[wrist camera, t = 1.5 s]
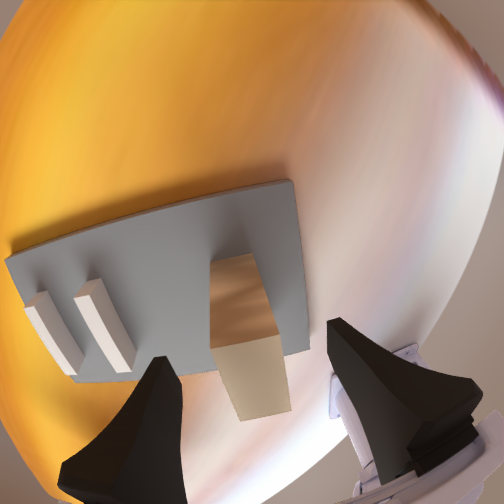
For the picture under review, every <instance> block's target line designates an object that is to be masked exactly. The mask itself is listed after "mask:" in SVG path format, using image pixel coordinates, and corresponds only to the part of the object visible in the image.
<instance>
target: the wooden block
mask: <svg viewBox="0 0 504 504" xmlns="http://www.w3.org/2000/svg"><path fill="white" fill-rule="evenodd" d="M210 351H211V353H212V356H213V358H214V361H215V363H216V366H217V368H218V371H219V373H220V376H221V378H222V381H223V383H224V385H225V388H226V390H227V392H228V395H229V397H230V399H231V402H232V404H233V406H234V409H235V411H236V413H237V415H238V418H239V420H240V421H246V420H251V419H257V418H262V417H266V416H271V415H275V414H280V413H284V412H288V411H292V410H291V403H290V397H289V390H288V383H287V377H286V370H285V364H284V357H283V351H282V344H281V338H280V333H279V330H278V327H277V324H276V321H275V318H274V315H273V313H272V310H271V307H270V304H269V301H268V298H267V295H266V292H265V289H264V286H263V283H262V280H261V277H260V274H259V271H258V268H257V265H256V262H255V259H254V256H253V253H250V254H245V255H240V256H236V257H231V258H227V259H222V260H217V261H213V262H210Z"/></svg>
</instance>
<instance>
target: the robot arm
mask: <svg viewBox="0 0 504 504" xmlns="http://www.w3.org/2000/svg"><path fill="white" fill-rule="evenodd" d="M417 350H418V345H417V344H413V345H410V346H408V347H406V348H404V349H401V350H399V351H397V352H394V353H391V352H389V351H387V350H386V349H384V348H382V347H381V346H379V345H378V344H376V343H375V342H373V341H372V340H370V339H369V338H367V337H366V336H364V335H363V334H362V333H360V332H359V331H357V330H356V329H355V328H353V327H352V326H351V325H349V324H348V323H347V322H346V321H344V320H343V319H342V318H340V317H339V318H335V319H332V320H329V321H327V354H328V356H329V359H330V361H331V364H332V366H333V369H334V371H335V373H336V374H335V375H333V376H332V378H331V393H330V410H329V417H330V419H335V418H338V417H341V418H342V420H343V423H344V425H345V427H346V430H347V432H348V434H349V437H350V439H351V441H352V444H353V446H354V448H355V451H356V453H357V455H358V458H359V460H360V463H361V465H362V467H363V470H362V471H360V472H358V473H357V474H358V476H359V478H360V480H359V481H358V482H357V483H356V485H355V487H354V491H353V496H352V498H350V499H347V500H344V501H341V502H339V503H335V504H475V503H476V502H477V500H478V498H479V497H480V495H481V493H482V491H483V489H484V484H483V483H484V480H485V479H486V478H488V476H490V475H491V474H492V473H493V472H494V471H495V470H496V469H497V468H498V467H499V466H500V465H501V464H502V463H503V462H504V418H503V417H502V416H501V414H500V413H499V412H498V410H496V409H495V410H494V411H493V412H492V413H490V414H489V415H488V416H487V417H486V418H484V419H483V420H482V421H481V422H480V423H478V425H476V427H474V426H473V425H472V423H473V421H474V419H473V417H472V416H471V414H472V412H473V411H474V409H475V408H476V407H477V405H478V404H479V402H480V401H481V399H482V397H483V392H482V390H481V389H480V388H479V387H478V385H477V384H476V383H475V382H474V381H473V380H472V379H471V378H464V377H457V376H451V375H447V374H443V373H439V372H436V371H433V370H431V369H430V367H429V366H428V365H427V364H426V362H425V361H424V360H423V359H422V358H421V356H420V355H419V354H418V352H417ZM182 407H183V399H182V384H181V382H180V380H179V378H178V377H177V375H176V373H175V371H174V369H173V367H172V366H171V364H170V362H169V360H168V358H167V356H159V357H154V358H153V359H152V361H151V363H150V364H149V366H148V367H147V369H146V371H145V373H144V374H143V376H142V378H141V379H140V381H139V383H138V384H137V386H136V387H135V389H134V391H133V392H132V394H131V395H130V397H129V398H128V400H127V401H126V403H125V404H124V406H123V407H122V408H121V410H120V411H119V412H118V414H117V415H116V416H115V417H114V419H113V420H112V421H111V422H110V423H109V424H108V426H107V427H106V428H105V429H104V430H103V431H102V432H101V433H100V434H99V435H98V436H97V437H96V438H95V439H94V440H92V441H91V442H90V443H89V444H88V445H87V446H85V447H84V448H83V449H82V450H80V451H79V452H78V453H76V454H75V455H73V456H72V457H70V458H69V459H67V460H66V461H64V462H62V465H61V469H60V474H59V479H58V483H57V485H58V487H59V489H61V490H62V491H63V492H65V493H67V494H68V495H70V496H72V497H74V498H76V499H78V500H79V501H81V502H83V503H84V504H188V503H187V498H186V493H185V487H184V481H183V473H182V465H181V453H180V440H181V423H182ZM58 504H72V503H69V502H65V501H62V500H59V501H58Z"/></svg>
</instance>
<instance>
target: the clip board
mask: <svg viewBox="0 0 504 504" xmlns="http://www.w3.org/2000/svg"><path fill="white" fill-rule="evenodd" d="M250 253H253V256H254V259H255V262H256V265H257V268H258V271H259V274H260V277H261V280H262V283H263V286H264V289H265V292H266V295H267V298H268V301H269V304H270V307H271V310H272V313H273V315H274V318H275V321H276V324H277V327H278V330H279V333H280V338H281V344H282V351H283V356H287V355H291V354H295V353H298V352H302V351H306V350H310V339H309V325H308V312H307V300H306V288H305V278H304V268H303V258H302V249H301V240H300V232H299V224H298V216H297V208H296V200H295V193H294V186H293V181H291V180H289V179H285V180H279V181H274V182H268V183H263V184H258V185H252V186H247V187H242V188H237V189H233V190H228V191H223V192H219V193H214V194H210V195H205V196H201V197H197V198H192V199H188V200H184V201H180V202H176V203H172V204H168V205H164V206H160V207H156V208H152V209H149V210H145V211H141V212H138V213H134V214H131V215H127V216H124V217H120V218H117V219H113V220H110V221H107V222H103V223H100V224H97V225H94V226H90V227H87V228H84V229H81V230H78V231H75V232H72V233H69V234H66V235H63V236H60V237H57V238H54V239H51V240H49V241H46V242H43V243H40V244H37V245H35V246H32V247H29V248H27V249H24V250H22V251H19V252H16V253H14V254H11V255H10V256H9V257H7V258H6V259H5V263H6V265H7V268H8V270H9V272H10V275H11V277H12V279H13V281H14V284H15V286H16V288H17V290H18V292H19V294H20V296H21V298H22V300H23V302H24V304H25V307H24V308H23V309H24V310H25V312H26V314H27V316H28V318H29V319H30V321H31V323H32V325H33V326H34V328H35V330H36V331H37V333H38V335H39V336H40V338H41V340H42V341H43V343H44V344H45V346H46V347H47V349H48V350H49V352H50V353H51V355H52V356H53V358H54V359H55V361H56V362H57V363H58V365H59V366H60V368H61V369H62V370H63V372H64V373H65V374H66V375H70V377H71V378H72V379H73V381H74V382H75V383H101V382H122V381H136V380H140V379H141V378H142V376H143V374H144V373H145V371H146V369H147V367H148V366H149V364H150V363H151V361H152V359H153V358H154V357H159V356H167V358H168V360H169V362H170V364H171V366H172V367H173V369H174V371H175V373H176V375H177V376H183V375H190V374H197V373H203V372H210V371H216V370H218V368H217V366H216V363H215V361H214V358H213V356H212V353H211V351H210V262H213V261H217V260H222V259H227V258H231V257H236V256H240V255H245V254H250Z"/></svg>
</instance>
